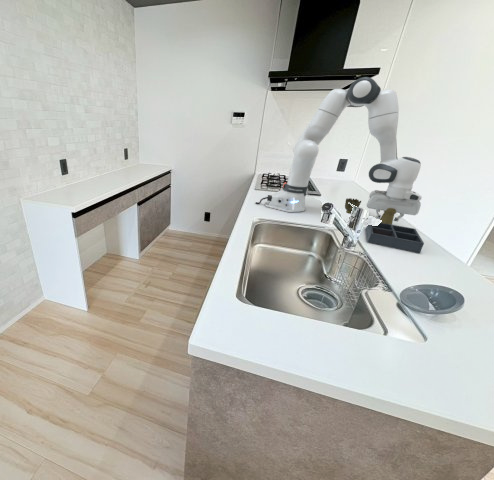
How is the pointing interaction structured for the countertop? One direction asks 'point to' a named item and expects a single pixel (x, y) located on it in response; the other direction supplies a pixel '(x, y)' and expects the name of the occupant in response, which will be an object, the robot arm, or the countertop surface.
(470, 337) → the countertop surface
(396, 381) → the countertop surface
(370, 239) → the grid
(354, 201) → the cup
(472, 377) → the countertop surface
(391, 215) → the cork
